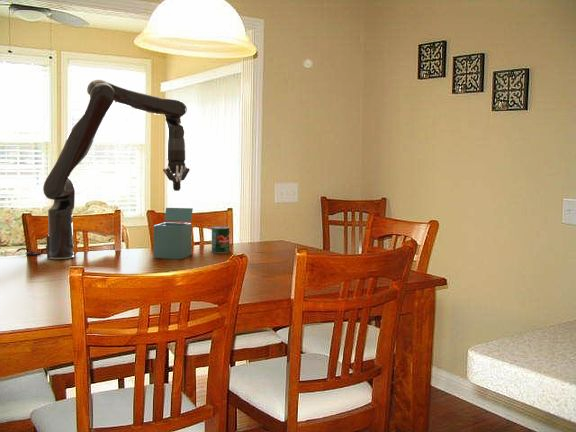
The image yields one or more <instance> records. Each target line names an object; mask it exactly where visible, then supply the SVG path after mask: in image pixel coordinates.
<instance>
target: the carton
mask: <svg viewBox="0 0 576 432" xmlns="http://www.w3.org/2000/svg"><path fill="white" fill-rule="evenodd" d="M190 256H192V223H191V222H167V221H164V222H161V223H158V224H154V225H153V258H154V259H163V260H164V259H167V260H183V259H185V258H187V257H190Z"/></svg>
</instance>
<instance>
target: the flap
mask: <svg viewBox="0 0 576 432" xmlns="http://www.w3.org/2000/svg"><path fill="white" fill-rule="evenodd" d="M193 211H194V209H193V208H192V207H191V208H190V207H165V213H164V222H181V223H191V222H192V218H193Z"/></svg>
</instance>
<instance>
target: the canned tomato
mask: <svg viewBox="0 0 576 432" xmlns="http://www.w3.org/2000/svg"><path fill="white" fill-rule="evenodd" d="M230 228H231V227H230V226H227V225H217V226H211V253H212V254H228V253H230Z"/></svg>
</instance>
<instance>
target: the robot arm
mask: <svg viewBox="0 0 576 432" xmlns="http://www.w3.org/2000/svg"><path fill="white" fill-rule="evenodd" d="M86 93H87V96H88V98H89V101H88V104H87V107H86V110H85V112H84V113H83V115H82V116H81V118H80V119H78V121H77V122H76V123H75V124H74V125H73V127H72V129H71V130H70V132H69V134H68V135H67V138H66V140H65V142H64V144H63V147H62V149H61V152H60V153H59V155H58V157H57V159H56V162H55V164H54V166H53V167H52V168H51V170H50V172H49V173H48V176H47V177H46V179H45V181H44V182H43V186H42V190H43V191H42V192H43V194H44V196H45V197H46V199H48V200H52V201H53V204H52V205H51V207H49V209H47V221H48V223H47V224H48V225H47V227H48V234H47V235H46V244H45V247H44V248H42V249H41V250H40V252H38V253H35V250H33V249H31V250H32V252H31V251H28V250H27V247H20V248H18V249H17V250H16V251H15V252H16V253H18V252H20V251H23V250H24V251H28V252H26V253H25V255H27V256H42V255H43V253H44V251H45V253H46V259H48V260H53V261H54V260H55V261H59V260H61V261H63V260H70V259H73V258H74V257H75V255H74V246H75V244H74V222H73V221H74V220H73V214H74V213H73V212H74V209H75V202H76V201H75V195H76V190H75V189H76V188H75V184H74V181H73V180H72V178H70V176H71V174H72V172H73V170H75V169H76V167H77V166H79V164H80V163H81V162H82V161H83V160H84V159H85V158H86V156H87V155H88V153H89V152H90V150H91V147H92V146H93V143H94V141H95V138H96V136H97V134H98V132H99V130H100V127H101V124H102V123H103V121H104V119H105V117H106V115H107V114H108V112H109V111H110V110H111V107H112V106H113V105H114V103H116V104H121V105H124V106H126V107H130V108H133V109H135V110H137V111H141V112H145V113H149V114H152V115H153V114H154V115H164V119H165V123H166V127H167V141H166V157H167V158H166V159H167V161H168V162H167V166H166V167H165V168H163V169H162V171H163V172H164V174H165V176H166V177H167V179H168V180H169V181H171V182H172V189H173V191H175V192H178V191H181V187H182V186H181V182H182V181H184V180H186V178H187V176H188V174H189V172H190V168H189V167H187V166H186V139H185V133H186V132H185V126H184V125H183V124H182V121H181V120H182V119H181V118H183V117H185V116H186V114H187V112H188V109H187V108H188V107H187V105H186V104H185V103H184V102H183V101H180V100H177V99H171V98H163V97H159V96H156V95H151V94H147V93H143V92H139V91H134V90H130V89H126V88H124V87H121V86H119V85H118V86H117V85H115V84H112V83H110V82H108V81H106V80H103V79H93V80H92V81H90V82H89V84H88V85H87V89H86Z"/></svg>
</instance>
